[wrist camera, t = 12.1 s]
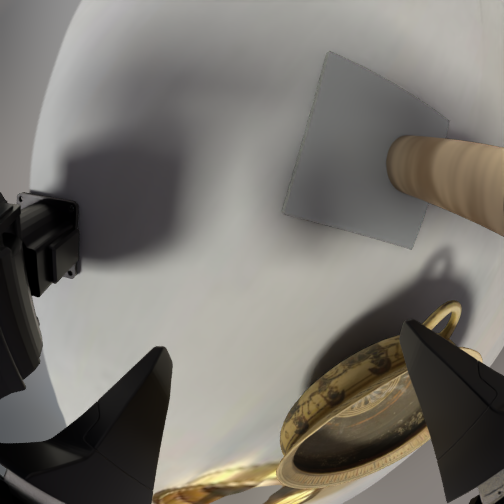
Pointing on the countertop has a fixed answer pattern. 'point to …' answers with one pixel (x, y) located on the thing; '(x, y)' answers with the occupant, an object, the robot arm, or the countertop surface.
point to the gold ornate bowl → (358, 415)
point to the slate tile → (359, 154)
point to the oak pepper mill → (451, 176)
